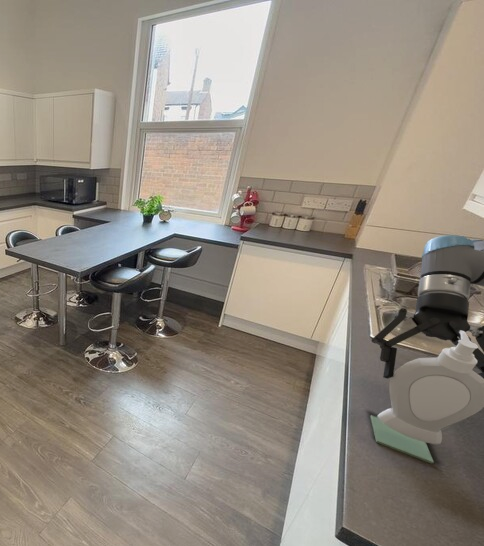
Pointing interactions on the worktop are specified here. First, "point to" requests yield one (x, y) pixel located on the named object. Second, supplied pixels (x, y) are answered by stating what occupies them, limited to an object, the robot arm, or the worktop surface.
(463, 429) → the worktop surface
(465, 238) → the robot arm
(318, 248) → the worktop surface
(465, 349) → the soap bottle
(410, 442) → the mat
